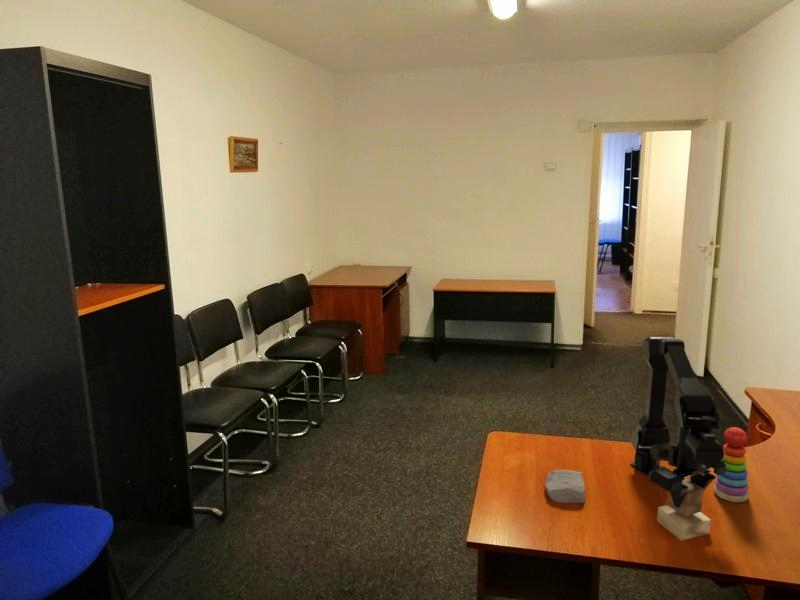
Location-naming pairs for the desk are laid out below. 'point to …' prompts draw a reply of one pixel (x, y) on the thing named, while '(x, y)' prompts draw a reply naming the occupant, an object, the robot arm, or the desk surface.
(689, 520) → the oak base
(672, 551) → the desk surface
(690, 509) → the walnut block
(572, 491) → the stone block
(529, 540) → the desk surface
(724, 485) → the stacking toy
